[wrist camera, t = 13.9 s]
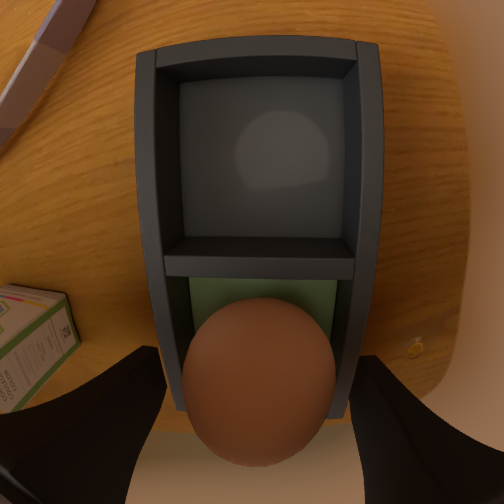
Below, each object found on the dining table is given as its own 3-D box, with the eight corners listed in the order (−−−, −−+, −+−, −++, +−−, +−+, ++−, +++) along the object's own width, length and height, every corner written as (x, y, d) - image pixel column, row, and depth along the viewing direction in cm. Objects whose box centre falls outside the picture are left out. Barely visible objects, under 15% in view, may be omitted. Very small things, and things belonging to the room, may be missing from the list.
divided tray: (356, 68, 10) (378, 43, 7) (335, 377, 15) (343, 419, 12) (167, 72, 10) (135, 52, 8) (191, 372, 15) (175, 410, 12)
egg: (346, 297, 12) (392, 424, 5) (293, 382, 14) (294, 502, 7) (227, 252, 12) (168, 363, 5) (193, 348, 14) (143, 463, 7)
